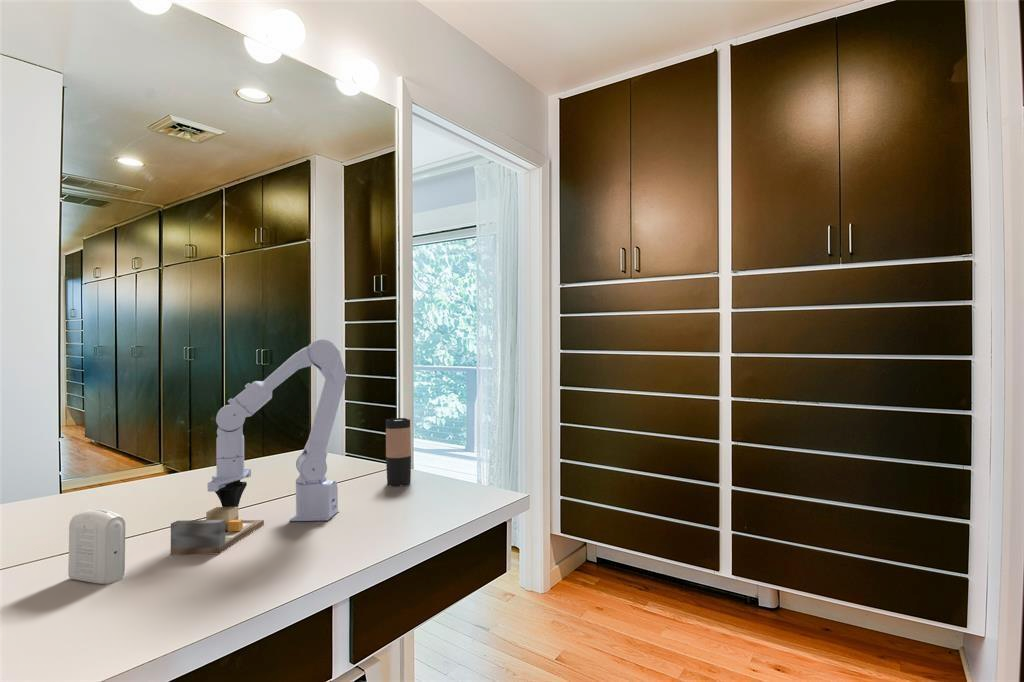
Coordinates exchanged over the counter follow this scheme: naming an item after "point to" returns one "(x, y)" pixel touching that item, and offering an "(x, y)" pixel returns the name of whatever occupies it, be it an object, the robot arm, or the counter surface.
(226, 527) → the tan rectangular block
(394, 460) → the travel mug
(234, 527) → the block
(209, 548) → the base
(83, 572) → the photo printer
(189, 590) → the counter surface
